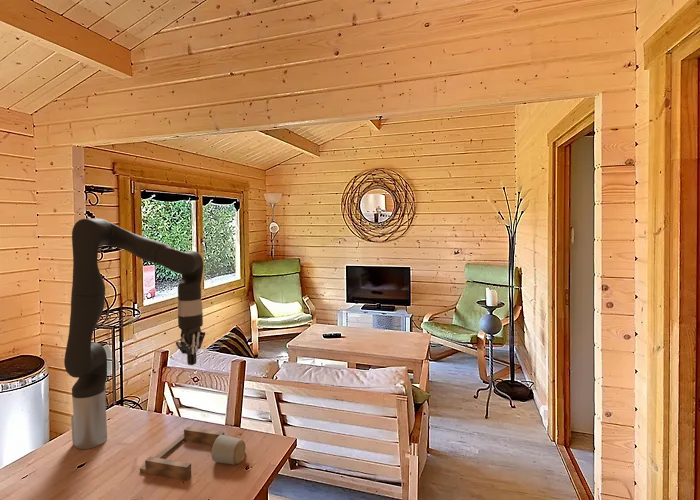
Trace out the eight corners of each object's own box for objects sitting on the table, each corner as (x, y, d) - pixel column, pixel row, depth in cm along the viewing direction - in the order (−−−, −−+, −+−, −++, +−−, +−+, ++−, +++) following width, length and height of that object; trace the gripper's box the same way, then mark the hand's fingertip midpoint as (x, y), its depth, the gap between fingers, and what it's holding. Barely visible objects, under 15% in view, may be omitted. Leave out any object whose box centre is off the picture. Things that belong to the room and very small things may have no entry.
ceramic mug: (235, 470, 123) (235, 445, 122) (210, 466, 125) (210, 442, 124) (251, 451, 133) (251, 428, 133) (228, 448, 135) (228, 425, 134)
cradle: (139, 472, 122) (139, 459, 122) (182, 437, 141) (182, 426, 141) (187, 480, 118) (186, 467, 118) (224, 443, 137) (224, 432, 137)
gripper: (192, 307, 142) (194, 356, 143) (166, 316, 129) (168, 370, 130) (212, 308, 140) (213, 358, 141) (187, 318, 127) (189, 372, 128)
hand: (192, 364), depth 136 cm, fingers closed
